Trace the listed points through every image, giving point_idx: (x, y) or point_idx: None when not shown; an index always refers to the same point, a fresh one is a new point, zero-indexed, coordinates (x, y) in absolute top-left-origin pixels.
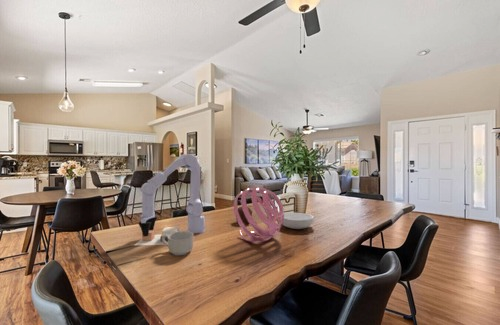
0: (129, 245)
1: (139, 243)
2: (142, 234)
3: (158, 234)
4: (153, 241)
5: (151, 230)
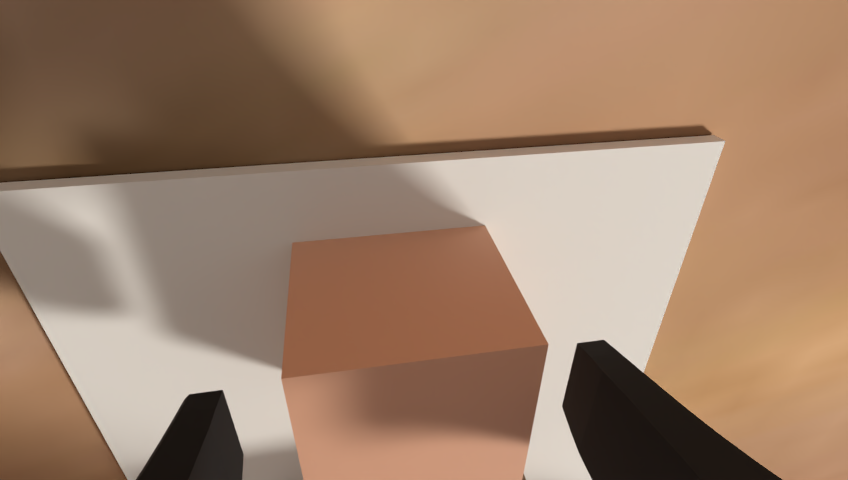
0: (2, 44)
1: (138, 251)
2: (286, 353)
3: (652, 344)
4: (288, 412)
5: (508, 458)
